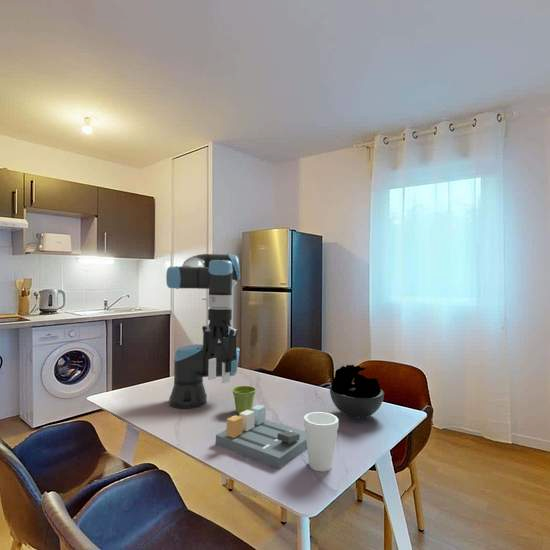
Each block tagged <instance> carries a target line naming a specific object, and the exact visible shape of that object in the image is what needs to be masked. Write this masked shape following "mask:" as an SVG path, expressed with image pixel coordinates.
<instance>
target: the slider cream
mask: <svg viewBox="0 0 550 550" xmlns="http://www.w3.org/2000/svg"><path fill="white" fill-rule="evenodd" d="M238 416H240V417H243V425H242V430H244V431H248V430H250V429H252V428H254V419H255V412H254V411H250V410H246V411H243V412H241V413H239V415H238Z"/></svg>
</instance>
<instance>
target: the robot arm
mask: <svg viewBox="0 0 550 550" xmlns="http://www.w3.org/2000/svg"><path fill="white" fill-rule="evenodd" d="M239 263H240V261H239V257H238V256H237V255H236V254H228V253H227V254H222V253H220V254H218V253H217V254H214V253H213V254H212V253H202V254H201V253H200V254H197V255H193V256H191V257H187V258H186V259H185V260H184V262H183V263H182V265H180V266H177V265H176V266H169V267H167V270H166V276H165V277H166V278H165V279H166V282H165V283H166V286H167V288H168V289H177V290H179V289H198V290H199V289H203V290H208V301H207V304H208V306H207V307H208V310H207V320H208V321H209V324H208V325H203V326H202V328H201V329H202V333H203V336H202V344H201V343H199V344H197V343H196V344H190V345H184V346H181V347H178V348H177V349H176V350H175V352H174V358H173V359H174V360H173V362H174V365H173V367H174V368H173V371H174V372H173V373H174V374H173V375H174V377H173V387H172V390H171V393H170V396H169V400H168V401H169V403H168V404H169V406H170V407H172V408H176V409H194V408H195V409H196V408H198V407H202V406H204V405H205V404H207V401H208V400H207V399H208V395H207V393H206V390H205V386H204V378H207V380H209V381H212V380H215V379H216V378H217V377H218V378H219V377H220V378H221V384H226V383H230V381H231V380H230V379H231V378H230V377H234V376H235V375H236V374H237V372H238V366H239V357H240V351H241V350H240V347H238V346H237V343H238V342H237V336H238V332H239V330H238V328H234V291H235V290H234V288H235V286H236V285H237V284H238V281H239V280H241V271H240V270H241V269H240V264H239Z"/></svg>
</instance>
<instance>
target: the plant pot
mask: <svg viewBox="0 0 550 550" xmlns="http://www.w3.org/2000/svg"><path fill="white" fill-rule="evenodd" d="M256 391H257V388H256V387H255V386H251V385H240V386H235V387H233V388H232V389H231V392H232V394H233V396H234V404H235V405H234V406H235V412H236V413H237V414H240V413H241V412H243V411H246V410H250V411H251V408H252V407H254V406H253V405H254V404H253V403H254V398H255V394H256Z"/></svg>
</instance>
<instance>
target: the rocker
mask: <svg viewBox="0 0 550 550" xmlns="http://www.w3.org/2000/svg"><path fill="white" fill-rule="evenodd" d="M299 437H300V434H297V433H294V432H290V431H286V432H282V433H278V436H277V439H278V440H281V441H284V442H287V443H290V442H294V441H297V440H299Z"/></svg>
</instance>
